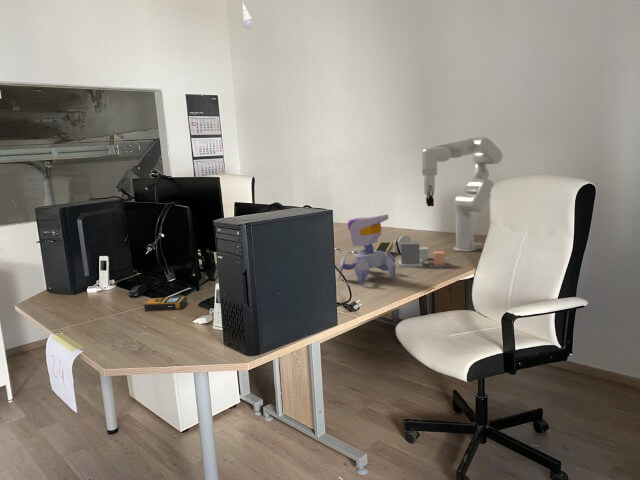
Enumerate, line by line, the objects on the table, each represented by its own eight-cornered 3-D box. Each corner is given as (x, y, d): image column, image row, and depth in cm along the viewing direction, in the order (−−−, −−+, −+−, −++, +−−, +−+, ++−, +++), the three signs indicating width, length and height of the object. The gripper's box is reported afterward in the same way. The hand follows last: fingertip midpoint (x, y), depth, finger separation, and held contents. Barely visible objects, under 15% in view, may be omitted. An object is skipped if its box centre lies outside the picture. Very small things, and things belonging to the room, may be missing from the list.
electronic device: (151, 305, 207) (150, 297, 207) (187, 303, 207) (186, 295, 206) (143, 311, 199) (142, 303, 199) (182, 309, 199) (181, 301, 198)
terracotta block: (443, 262, 247) (443, 251, 246) (444, 265, 242) (444, 253, 241) (433, 263, 248) (433, 251, 247) (434, 265, 243) (434, 253, 242)
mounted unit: (421, 261, 255) (421, 240, 253) (422, 266, 246) (422, 244, 243) (398, 262, 257) (398, 241, 255) (398, 266, 247) (398, 245, 245)
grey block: (427, 258, 263) (427, 247, 262) (428, 260, 258) (428, 249, 257) (418, 258, 264) (418, 247, 263) (418, 260, 259) (418, 249, 258)
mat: (448, 263, 249) (448, 261, 249) (450, 268, 240) (450, 266, 239) (428, 263, 251) (428, 261, 251) (429, 268, 241) (429, 266, 241)
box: (393, 249, 282) (393, 241, 280) (386, 265, 262) (385, 256, 260) (379, 249, 284) (378, 241, 283) (371, 265, 265) (370, 256, 263)
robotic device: (363, 269, 247) (361, 209, 242) (408, 275, 231) (407, 212, 226) (331, 281, 227) (328, 217, 222) (378, 289, 211) (375, 220, 206)
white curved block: (404, 254, 273) (398, 237, 274) (397, 256, 276) (391, 240, 276) (416, 248, 287) (410, 232, 287) (409, 250, 290) (403, 234, 290)
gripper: (421, 171, 265) (421, 203, 268) (423, 173, 248) (423, 207, 251) (435, 171, 263) (436, 202, 267) (438, 173, 247) (438, 206, 250)
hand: (429, 205), depth 259 cm, fingers open, 9 cm apart
